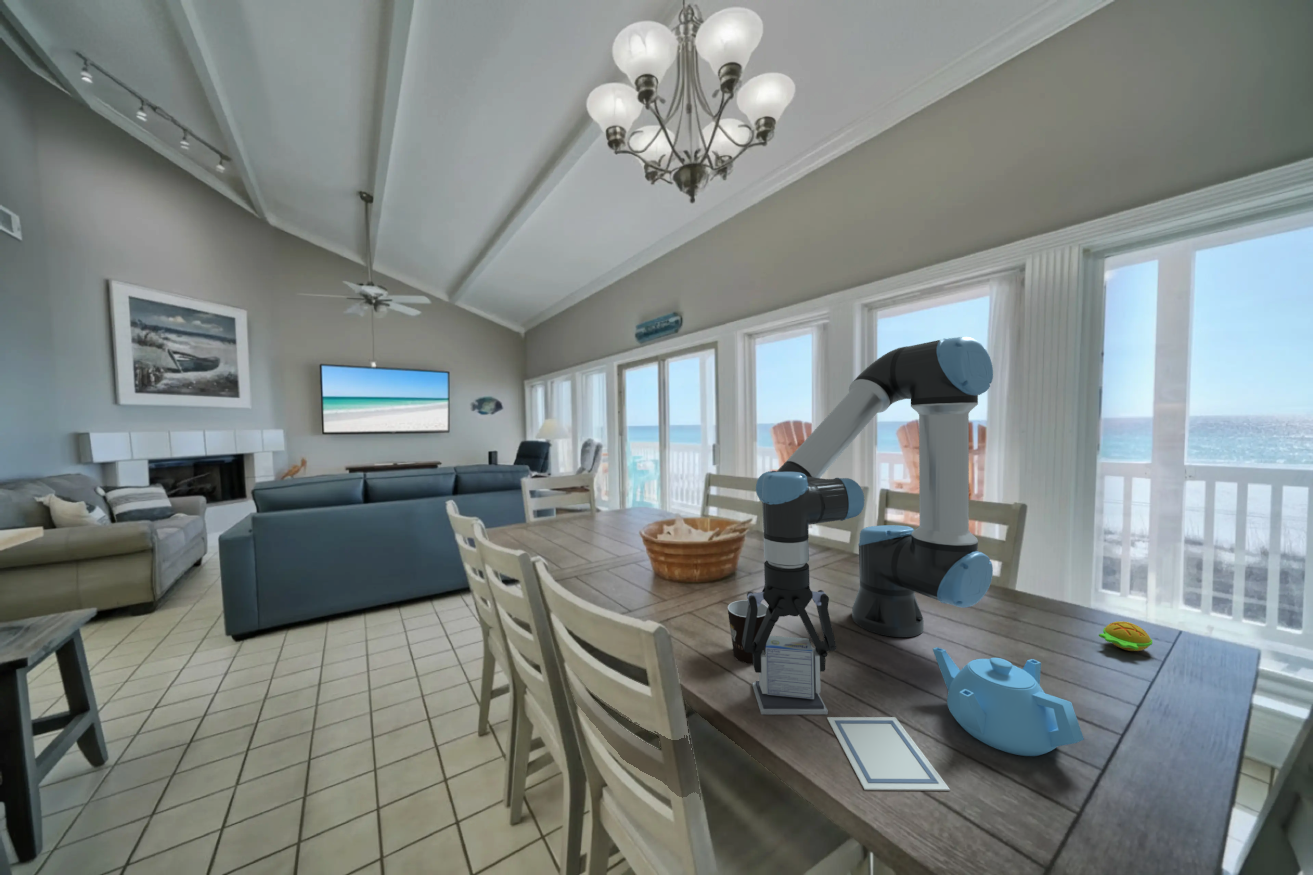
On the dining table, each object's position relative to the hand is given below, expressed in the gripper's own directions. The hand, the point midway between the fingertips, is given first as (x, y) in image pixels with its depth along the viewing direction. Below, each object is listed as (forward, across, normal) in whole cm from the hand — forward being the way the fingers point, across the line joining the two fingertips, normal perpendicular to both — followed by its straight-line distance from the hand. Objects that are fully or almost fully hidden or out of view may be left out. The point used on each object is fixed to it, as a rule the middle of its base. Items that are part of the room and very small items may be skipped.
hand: (789, 688), depth 77 cm
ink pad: (+2, 0, 0) cm, 2 cm away
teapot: (+2, -31, +7) cm, 32 cm away
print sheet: (+2, -10, +12) cm, 16 cm away
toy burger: (+3, -73, -16) cm, 74 cm away
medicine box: (+1, 0, 0) cm, 1 cm away
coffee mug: (+2, +4, -16) cm, 17 cm away
